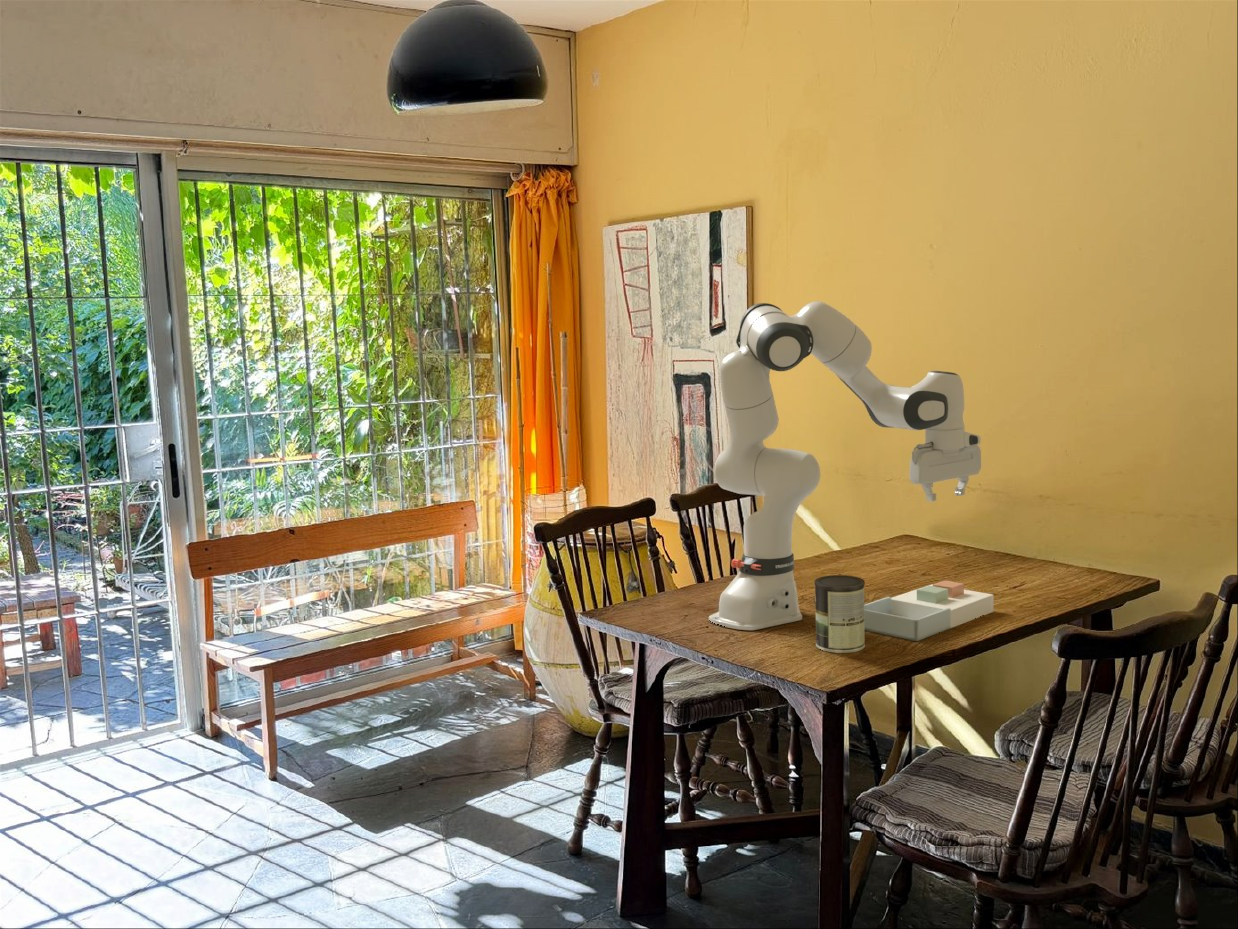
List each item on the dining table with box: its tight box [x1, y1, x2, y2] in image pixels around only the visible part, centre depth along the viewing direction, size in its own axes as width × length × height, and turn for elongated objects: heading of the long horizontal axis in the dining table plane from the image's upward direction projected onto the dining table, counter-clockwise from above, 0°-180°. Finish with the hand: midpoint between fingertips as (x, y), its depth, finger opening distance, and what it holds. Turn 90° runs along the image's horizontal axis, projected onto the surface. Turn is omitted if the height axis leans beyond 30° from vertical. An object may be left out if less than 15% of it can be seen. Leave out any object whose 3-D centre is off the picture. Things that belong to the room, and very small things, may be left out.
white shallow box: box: [891, 583, 995, 629], centre depth 259 cm, size 18×16×4 cm
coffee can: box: [813, 574, 866, 654], centre depth 237 cm, size 10×10×14 cm
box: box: [864, 596, 951, 642], centre depth 249 cm, size 13×16×4 cm
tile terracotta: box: [933, 580, 965, 598], centre depth 261 cm, size 5×5×2 cm
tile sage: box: [917, 585, 948, 604], centre depth 257 cm, size 5×5×2 cm
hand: (945, 498), depth 266 cm, fingers open, 8 cm apart
